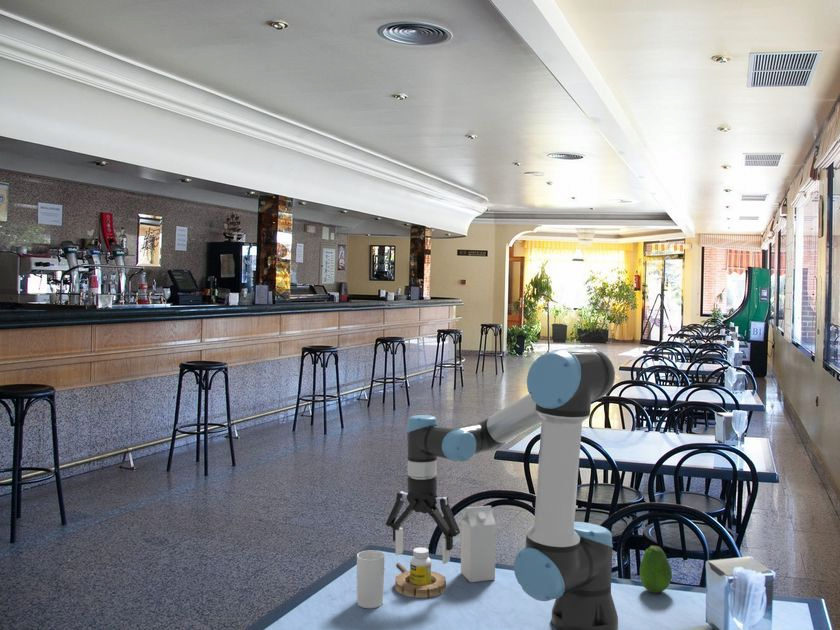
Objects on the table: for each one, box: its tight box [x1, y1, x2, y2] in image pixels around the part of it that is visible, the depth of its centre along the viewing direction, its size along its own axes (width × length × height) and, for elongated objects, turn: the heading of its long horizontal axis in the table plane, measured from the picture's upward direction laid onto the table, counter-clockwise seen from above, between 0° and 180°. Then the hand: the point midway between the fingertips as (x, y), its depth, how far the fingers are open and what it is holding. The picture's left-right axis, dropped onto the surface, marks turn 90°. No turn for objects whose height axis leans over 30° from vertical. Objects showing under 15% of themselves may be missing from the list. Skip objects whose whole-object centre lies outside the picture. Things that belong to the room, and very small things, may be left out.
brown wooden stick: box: [396, 562, 408, 573], centre depth 209 cm, size 10×1×1 cm, turn 22°
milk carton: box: [460, 505, 497, 583], centre depth 206 cm, size 7×7×19 cm
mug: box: [356, 549, 385, 609], centre depth 189 cm, size 10×7×12 cm, turn 168°
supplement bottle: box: [409, 547, 432, 586], centre depth 198 cm, size 5×5×10 cm
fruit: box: [639, 545, 673, 594], centre depth 197 cm, size 8×8×12 cm
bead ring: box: [394, 570, 447, 599], centre depth 198 cm, size 13×13×2 cm
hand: (422, 558), depth 198 cm, fingers open, 13 cm apart
